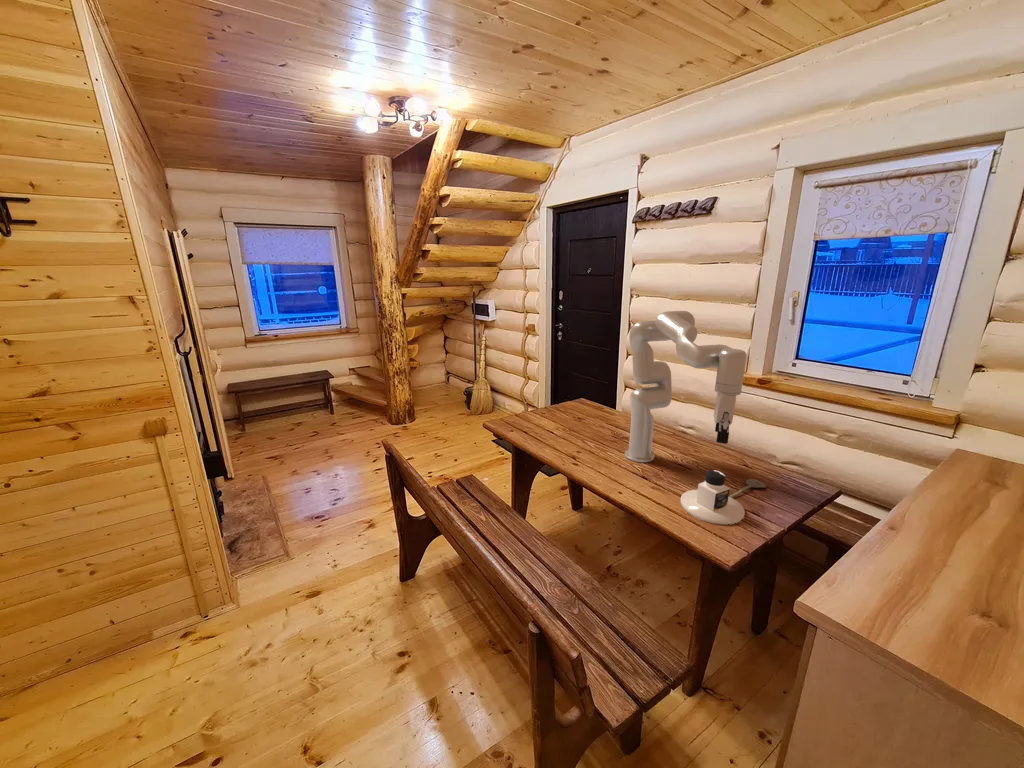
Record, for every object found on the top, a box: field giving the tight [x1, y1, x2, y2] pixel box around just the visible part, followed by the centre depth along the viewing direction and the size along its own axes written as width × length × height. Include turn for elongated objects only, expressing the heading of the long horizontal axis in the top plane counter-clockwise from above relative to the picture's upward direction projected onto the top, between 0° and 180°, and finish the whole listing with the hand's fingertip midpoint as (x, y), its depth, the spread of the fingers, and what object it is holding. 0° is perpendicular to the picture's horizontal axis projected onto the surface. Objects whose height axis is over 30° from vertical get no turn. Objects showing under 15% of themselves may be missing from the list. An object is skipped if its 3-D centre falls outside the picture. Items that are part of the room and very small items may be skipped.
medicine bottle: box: [696, 469, 730, 511], centre depth 139 cm, size 7×7×12 cm
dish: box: [680, 489, 746, 526], centre depth 140 cm, size 20×20×1 cm
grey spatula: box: [729, 478, 767, 498], centre depth 151 cm, size 22×3×7 cm
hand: (720, 437), depth 133 cm, fingers open, 9 cm apart
